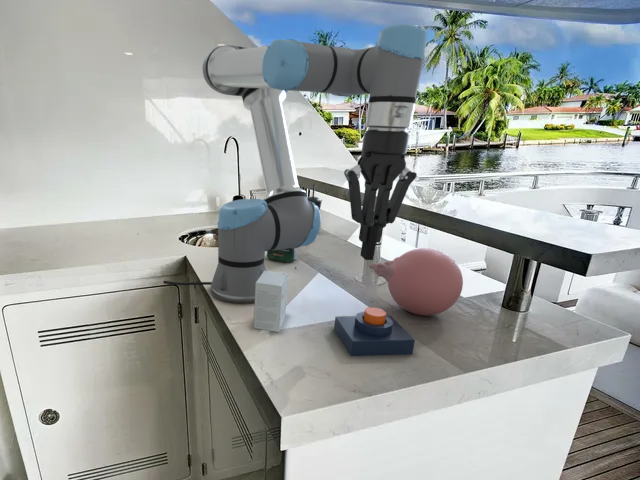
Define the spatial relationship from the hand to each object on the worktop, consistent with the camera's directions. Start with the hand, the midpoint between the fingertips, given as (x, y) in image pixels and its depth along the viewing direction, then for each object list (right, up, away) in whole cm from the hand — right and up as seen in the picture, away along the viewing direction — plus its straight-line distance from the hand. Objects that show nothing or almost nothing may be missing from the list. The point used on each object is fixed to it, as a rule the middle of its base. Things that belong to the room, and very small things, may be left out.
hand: (366, 257), depth 74 cm
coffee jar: (-11, +1, +51) cm, 52 cm away
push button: (+1, -17, +2) cm, 17 cm away
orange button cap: (+1, -13, 0) cm, 13 cm away
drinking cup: (+5, +13, +86) cm, 87 cm away
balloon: (+15, -12, +16) cm, 25 cm away
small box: (-18, -14, +9) cm, 25 cm away
